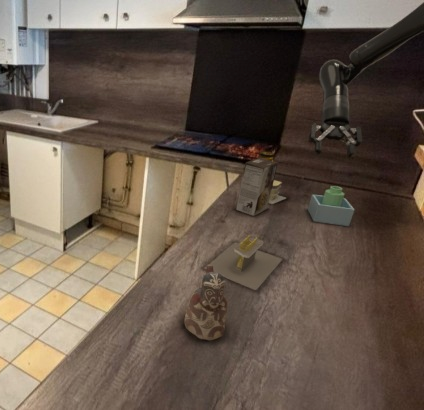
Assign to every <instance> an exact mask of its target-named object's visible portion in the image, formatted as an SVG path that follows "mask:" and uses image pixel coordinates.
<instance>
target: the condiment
mask: <svg viewBox="0 0 424 410" xmlns="http://www.w3.org/2000/svg"><path fill="white" fill-rule="evenodd" d="M274 157H275V154H274V152H272V151H264V150H263V151H259V153H258V155H257V158H263V159H268V160H271V161H274Z"/></svg>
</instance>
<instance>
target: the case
mask: <svg viewBox="0 0 424 410" xmlns="http://www.w3.org/2000/svg"><path fill="white" fill-rule="evenodd" d="M323 197H324V195H321V194H320V195H319V194H311V198H310V201H309V205H308V207H307V211H308V213H309V215H310V217H311V218H312V221H313V222H315V223H323V224H330V225H335V226H337V225H338V226H344V227H350V224H351V221H352V218H353V216H354V213H355V211H356V210H355V208H354V206H353V205H352V204H351V203H350V202H349V201H348V200H347V199H346V198H345V197H343V200H342V204H341V207H336V206H328V205H321V204H322V201H323Z"/></svg>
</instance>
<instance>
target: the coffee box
mask: <svg viewBox="0 0 424 410" xmlns="http://www.w3.org/2000/svg"><path fill="white" fill-rule="evenodd" d="M278 164H279V161H274V160H273V161H271V160H268V159H263V158H258V157H257V158H254V159H252V160H249V161H246V162H245V163H244V169H243V173H242V179H241V183H240V189H239V194H238V198H237V203H236V211H239V212H242V213H244V214H247V215H250V216H253V217H255V216H257V215H259V214H261V213H262V212H264V211H265V210H268V207H269V204H270V203H269V199H270V195H271V191H272V187H273V182H274V180H275V178H276V174H277V169H278Z"/></svg>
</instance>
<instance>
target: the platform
mask: <svg viewBox="0 0 424 410" xmlns="http://www.w3.org/2000/svg"><path fill="white" fill-rule="evenodd" d="M264 242H265V241H264V240H262V239H259V238H258V237H257V236H255V238H251V235H250V234H249V235H248V236H247V237H245V238H243V239H242V240H241V241H240V242H236V241H235V242H234V243H232V244H231V245H230V246H228V248H227V249H225V250H224V251H223V252H222V253H220V254H219V255H218V256H217V257H216V258H215V259H213V260H212V261H211V262H210V263H209V264H208V265H212V266H213V271H214V272H217V273H219V274H220V275H221V276H222V277H223V278H224V279H228V280H230V281H232V282H234V283H237V284H239V285H241V286H243V287H246V288H249V289H251V290H253V291H255V292H256V291H257V290H258V289H259V287H260V286H261V285H262V284H263V283H264V282H265V280H266V279H267V278H268V277H269V276H270V275H271V273H273V271H274V270H275V269H276V268H277V266H278V265H279V264H280V263H281V262H282V261H283V258H281V257H279V256H276V255H274V254H273V255H272V254H270V253H267V252H265V251H262V250H259V249H260V248H261V247H262V245H264V244H265V243H264ZM208 265H206V266H205V267H204V268H203V269H204V270H205V271H206V270H207V266H208Z"/></svg>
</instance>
